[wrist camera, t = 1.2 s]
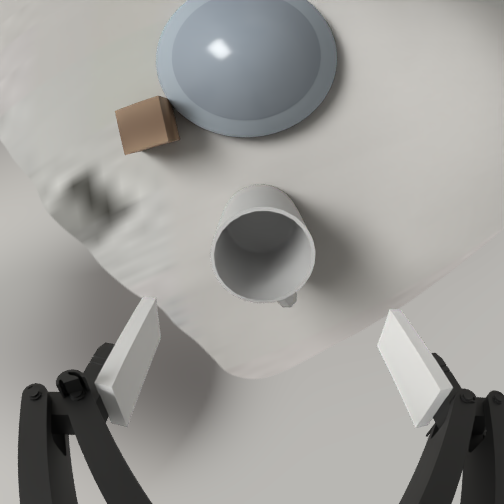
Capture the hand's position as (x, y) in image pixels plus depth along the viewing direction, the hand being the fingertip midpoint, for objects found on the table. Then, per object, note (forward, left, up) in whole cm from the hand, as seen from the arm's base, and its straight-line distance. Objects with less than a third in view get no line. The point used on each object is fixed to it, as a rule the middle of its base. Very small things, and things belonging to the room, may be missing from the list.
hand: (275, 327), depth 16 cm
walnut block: (-10, -11, -15) cm, 21 cm away
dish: (-17, -3, -15) cm, 23 cm away
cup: (0, 0, -15) cm, 15 cm away
